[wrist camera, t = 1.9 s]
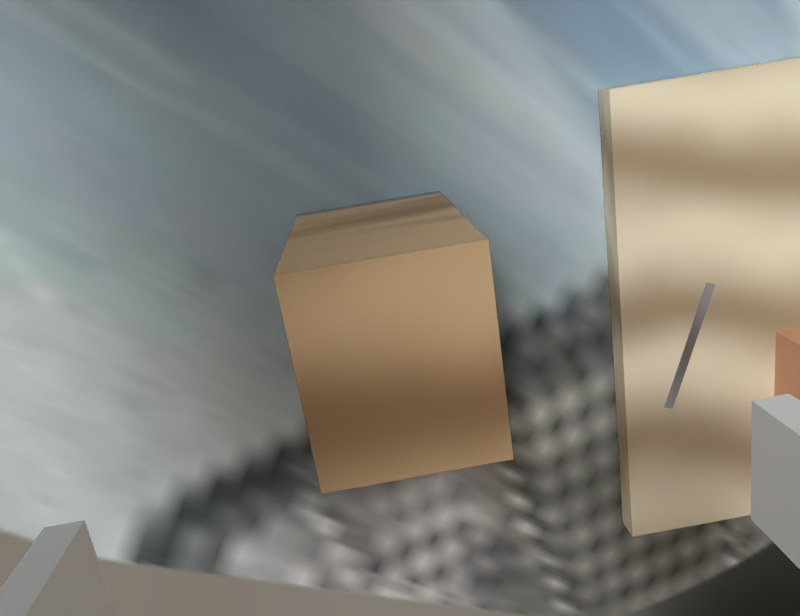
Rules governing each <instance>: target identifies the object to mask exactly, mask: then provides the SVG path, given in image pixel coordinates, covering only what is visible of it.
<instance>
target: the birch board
mask: <svg viewBox="0 0 800 616" xmlns="http://www.w3.org/2000/svg"><path fill="white" fill-rule="evenodd" d="M598 96H599V114H600V131H601V149H602V166H603V184H604V201H605V219H606V237H607V254H608V272H609V289H610V307H611V324H612V342H613V360H614V377H615V395H616V412H617V430H618V447H619V465H620V483H621V500H622V518H623V523H624V525H625V526H626V528H627V529H628V531H629V532H630V534H631V535H632V537H634V536H640V535H645V534H651V533H656V532H661V531H667V530H672V529H678V528H683V527H688V526H694V525H699V524H705V523H710V522H715V521H721V520H726V519H732V518H737V517H742V516H748V515H751V419H752V400H757V399H763V398H768V397H774V384H775V345H776V332H779V331H785V330H790V329H796V328H800V57H796V58H790V59H784V60H778V61H772V62H766V63H759V64H753V65H747V66H741V67H735V68H729V69H723V70H717V71H711V72H704V73H698V74H692V75H686V76H680V77H674V78H668V79H662V80H655V81H649V82H643V83H637V84H631V85H625V86H619V87H613V88H606V89H600V90H598Z"/></svg>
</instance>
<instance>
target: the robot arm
mask: <svg viewBox="0 0 800 616" xmlns="http://www.w3.org/2000/svg"><path fill="white" fill-rule="evenodd" d="M751 520H752V521H753V522H754V523H755V524H756V525H757V526H758V527H759V528H760V529H761V530H762V531H763V532H764V533H765V534H766V535H767V536H768V537H769V538H770V539H771V540H772V541H773V542H774V543H775V544H776V545H777V546H778V547H779V548H780V549H781V550H782V551H783V552H784V553H785V554H786V556H788V558H790V560H791V561H792V562H793V563H794V564H795V565H796V566H797V567H798V568H799V569H800V400H798V399H797V398H795V397H794V396H792V395H791V394H785V395H779V396H774V397H768V398H763V399H757V400H752V419H751ZM0 616H118V615H117V612H116V609H115V606H114V604H113V600H112V598H111V595H110V592H109V589H108V586H107V583H106V581H105V578H104V575H103V572H102V569H101V566H100V563H99V561H98V558H97V555H96V552H95V549H94V546H93V543H92V541H91V538H90V535H89V532H88V529H87V526H86V523H85V521H78V522H73V523H67V524H61V525H56V526H50V527H45V528H44V529H43V530H42V531H41V533H40V534H39V536H38V537H37V538H36V540H35V541H34V543H33V544H32V545H31V547H30V548H29V550H28V551H27V553H26V554H25V556H24V557H23V558H22V560H21V561H20V562H19V564H18V566H17V567H16V568H15V570H14V571H13V572H12V574H11V575H10V577H9V578H8V580H7V581H6V582H5V584H4V585H3V587H2V588H1V589H0Z"/></svg>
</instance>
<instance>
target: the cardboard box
mask: <svg viewBox="0 0 800 616" xmlns="http://www.w3.org/2000/svg"><path fill="white" fill-rule="evenodd" d="M273 277H274V281H275V286H276V290H277V295H278V299H279V304H280V308H281V313H282V317H283V322H284V326H285V331H286V336H287V340H288V345H289V349H290V354H291V358H292V363H293V367H294V372H295V376H296V381H297V385H298V390H299V394H300V399H301V403H302V408H303V412H304V417H305V421H306V426H307V430H308V435H309V439H310V444H311V449H312V453H313V458H314V462H315V467H316V471H317V476H318V480H319V485H320V489H321V494H324V493H330V492H335V491H341V490H346V489H352V488H357V487H363V486H368V485H374V484H380V483H385V482H391V481H396V480H402V479H407V478H413V477H418V476H424V475H430V474H435V473H441V472H446V471H452V470H457V469H463V468H468V467H474V466H479V465H485V464H491V463H496V462H502V461H507V460H513V450H512V441H511V432H510V424H509V415H508V406H507V397H506V388H505V380H504V371H503V362H502V353H501V344H500V336H499V327H498V318H497V309H496V300H495V292H494V283H493V274H492V265H491V257H490V248H489V239H488V238H487V237H486V236H484V235H483V234H482V233H481V232H480V231H479V230H478V229H477V228H476V227H475V226H474V225H473V224H472V223H471V222H470V221H469V220H468V219H467V218H466V217H465V216H464V215H463V214H462V213H461V212H460V211H459V210H458V209H457V208H456V207H455V206H454V205H453V204H452V203H451V202H450V201H449V200H448V199H447V198H446V197H445V196H444V195H442V194H441V193H440V192H439V191H436V192H430V193H424V194H418V195H412V196H406V197H400V198H394V199H388V200H382V201H376V202H370V203H364V204H358V205H352V206H346V207H340V208H334V209H328V210H322V211H316V212H310V213H304V214H298V215H297V216H296V219H295V221H294V224H293V227H292V229H291V232H290V234H289V237H288V239H287V242H286V245H285V247H284V250H283V252H282V255H281V258H280V260H279V263H278V265H277V268H276V270H275V273H274V276H273Z"/></svg>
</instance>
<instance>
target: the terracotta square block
mask: <svg viewBox="0 0 800 616" xmlns="http://www.w3.org/2000/svg"><path fill="white" fill-rule="evenodd" d="M785 394H791V395H792V396H794V397H795V398H797V399H798V400H800V328H796V329H790V330H785V331H779V332H776V345H775V384H774V396H779V395H785Z"/></svg>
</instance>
